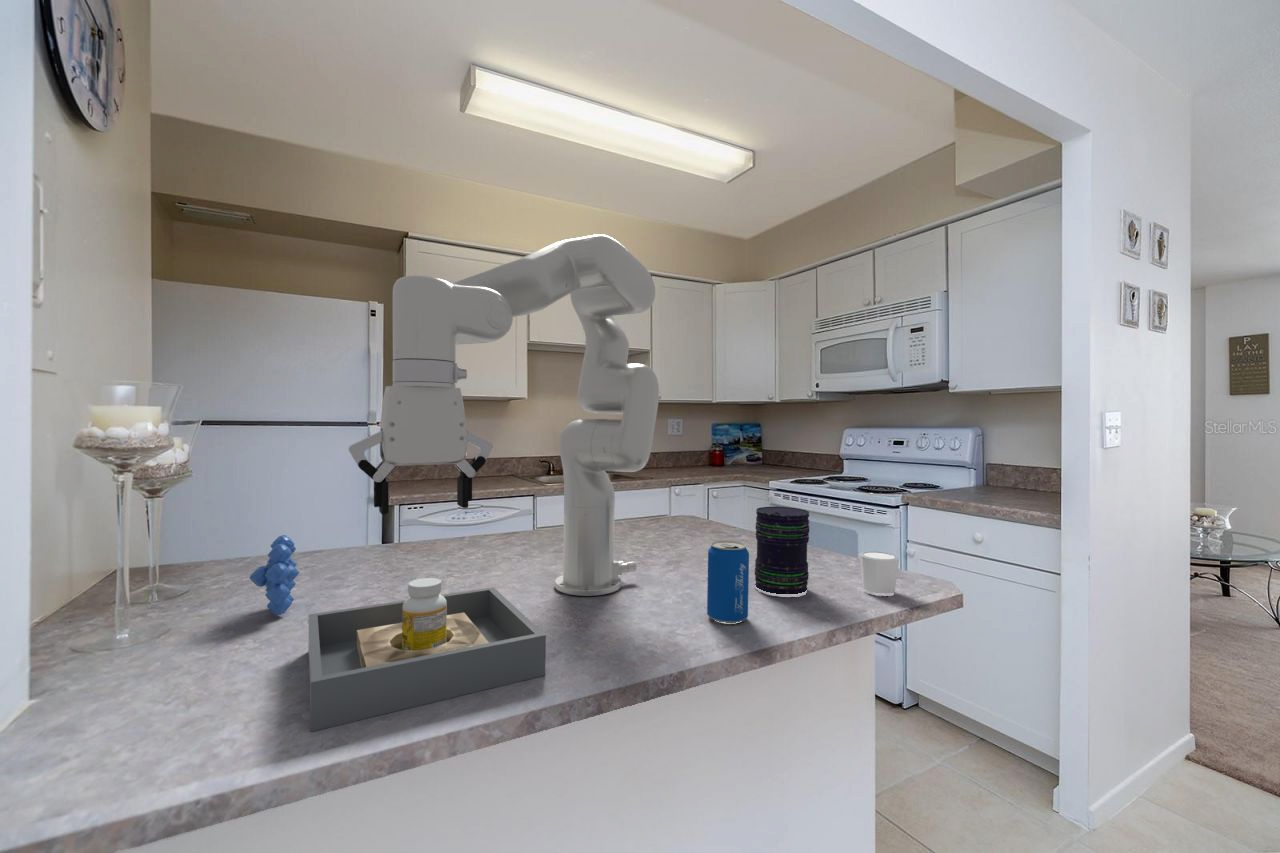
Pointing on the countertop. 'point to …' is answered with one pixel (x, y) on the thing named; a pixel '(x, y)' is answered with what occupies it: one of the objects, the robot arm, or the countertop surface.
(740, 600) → the beverage can
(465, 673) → the open box
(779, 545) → the storage jar
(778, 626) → the countertop surface
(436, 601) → the supplement bottle
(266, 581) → the grapes
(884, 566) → the white short cylinder
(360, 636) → the bore plate
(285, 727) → the countertop surface
